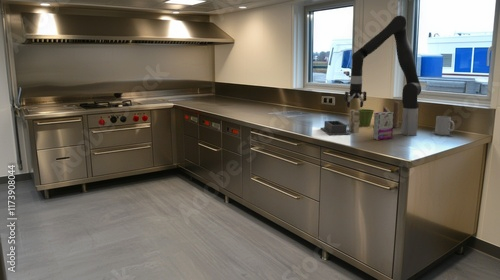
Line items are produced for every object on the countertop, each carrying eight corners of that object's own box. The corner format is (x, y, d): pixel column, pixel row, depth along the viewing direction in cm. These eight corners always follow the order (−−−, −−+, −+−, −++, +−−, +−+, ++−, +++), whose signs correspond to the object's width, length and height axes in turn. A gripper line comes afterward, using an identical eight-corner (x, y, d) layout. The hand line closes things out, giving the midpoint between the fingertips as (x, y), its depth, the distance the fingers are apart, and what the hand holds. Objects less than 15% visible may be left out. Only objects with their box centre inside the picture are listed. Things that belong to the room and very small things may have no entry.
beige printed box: (358, 132, 263) (359, 111, 260) (354, 132, 263) (355, 111, 260) (353, 129, 273) (354, 109, 270) (349, 129, 272) (350, 109, 269)
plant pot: (373, 127, 280) (374, 111, 278) (356, 126, 284) (356, 111, 281) (373, 124, 291) (374, 109, 289) (356, 123, 295) (357, 108, 292)
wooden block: (384, 125, 287) (386, 100, 283) (398, 127, 279) (400, 101, 275) (382, 126, 284) (383, 101, 280) (396, 128, 277) (398, 102, 273)
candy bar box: (386, 137, 248) (388, 111, 245) (392, 138, 244) (394, 112, 240) (372, 138, 244) (374, 112, 240) (378, 140, 240) (379, 113, 236)
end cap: (350, 134, 256) (350, 125, 255) (329, 135, 255) (329, 126, 254) (340, 128, 278) (340, 119, 277) (320, 128, 277) (320, 120, 275)
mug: (431, 133, 258) (433, 116, 255) (440, 131, 262) (441, 115, 260) (449, 136, 248) (450, 119, 245) (457, 135, 252) (459, 118, 249)
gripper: (347, 83, 256) (346, 108, 260) (368, 83, 258) (367, 108, 261) (343, 82, 264) (342, 106, 267) (364, 82, 265) (363, 106, 269)
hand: (354, 107), depth 264 cm, fingers open, 8 cm apart
